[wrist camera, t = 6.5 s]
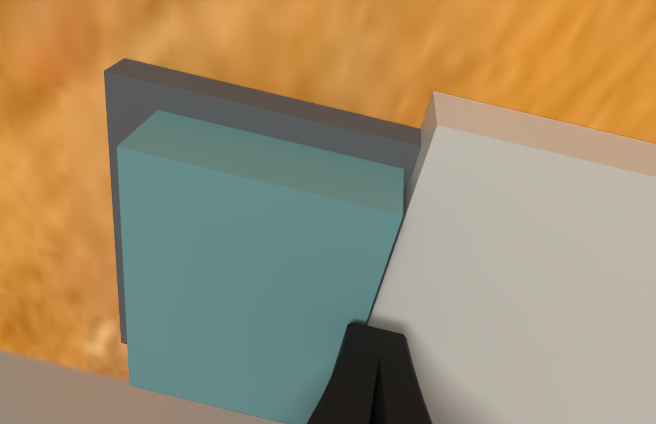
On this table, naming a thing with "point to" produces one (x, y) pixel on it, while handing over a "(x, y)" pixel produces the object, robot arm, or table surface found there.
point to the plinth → (526, 270)
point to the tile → (247, 262)
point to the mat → (241, 125)
